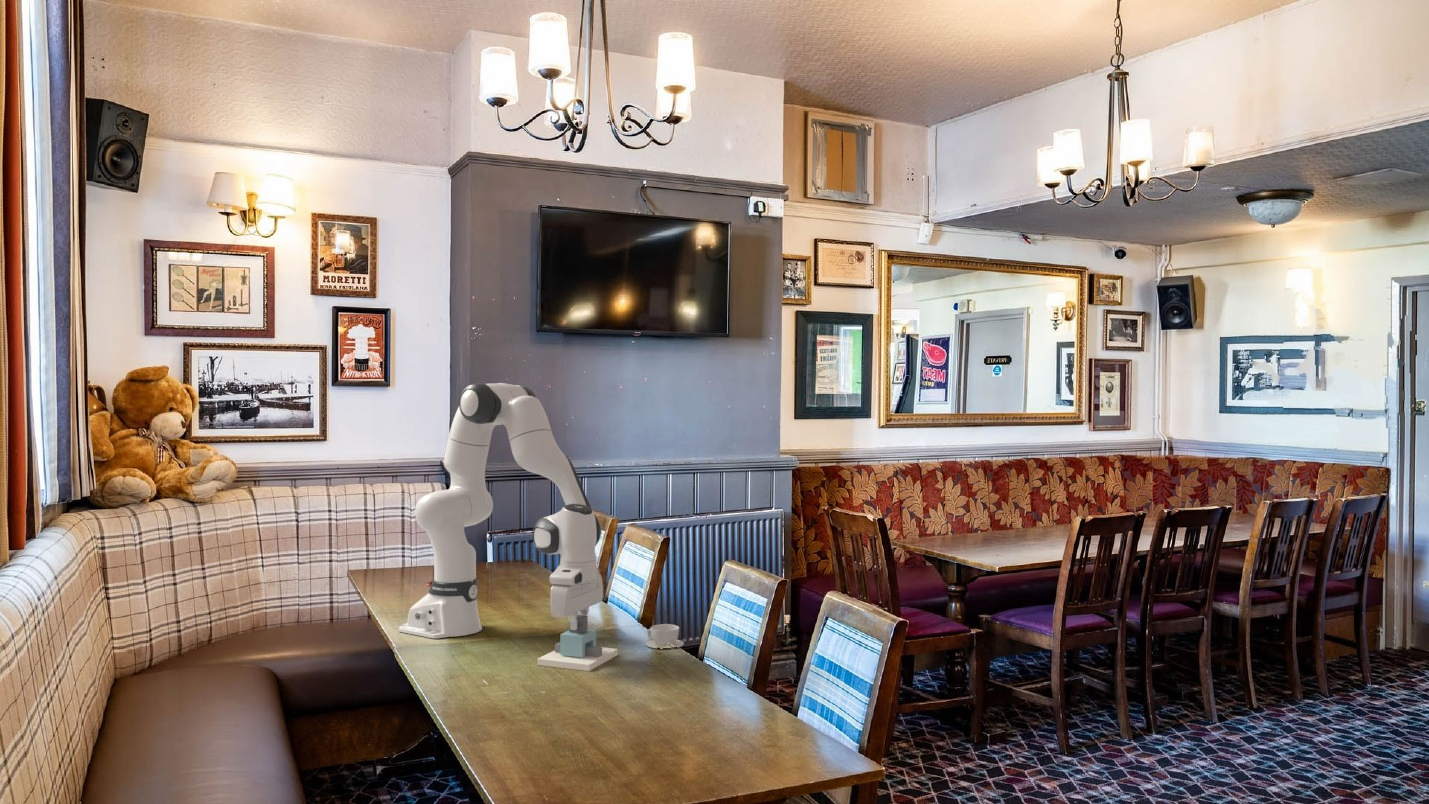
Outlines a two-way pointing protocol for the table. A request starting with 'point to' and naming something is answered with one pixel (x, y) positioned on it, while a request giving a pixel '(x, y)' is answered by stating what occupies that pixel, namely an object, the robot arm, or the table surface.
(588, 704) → the table surface
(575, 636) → the block
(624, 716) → the table surface
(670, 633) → the teacup
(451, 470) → the robot arm
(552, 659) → the cleat board
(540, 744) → the table surface
